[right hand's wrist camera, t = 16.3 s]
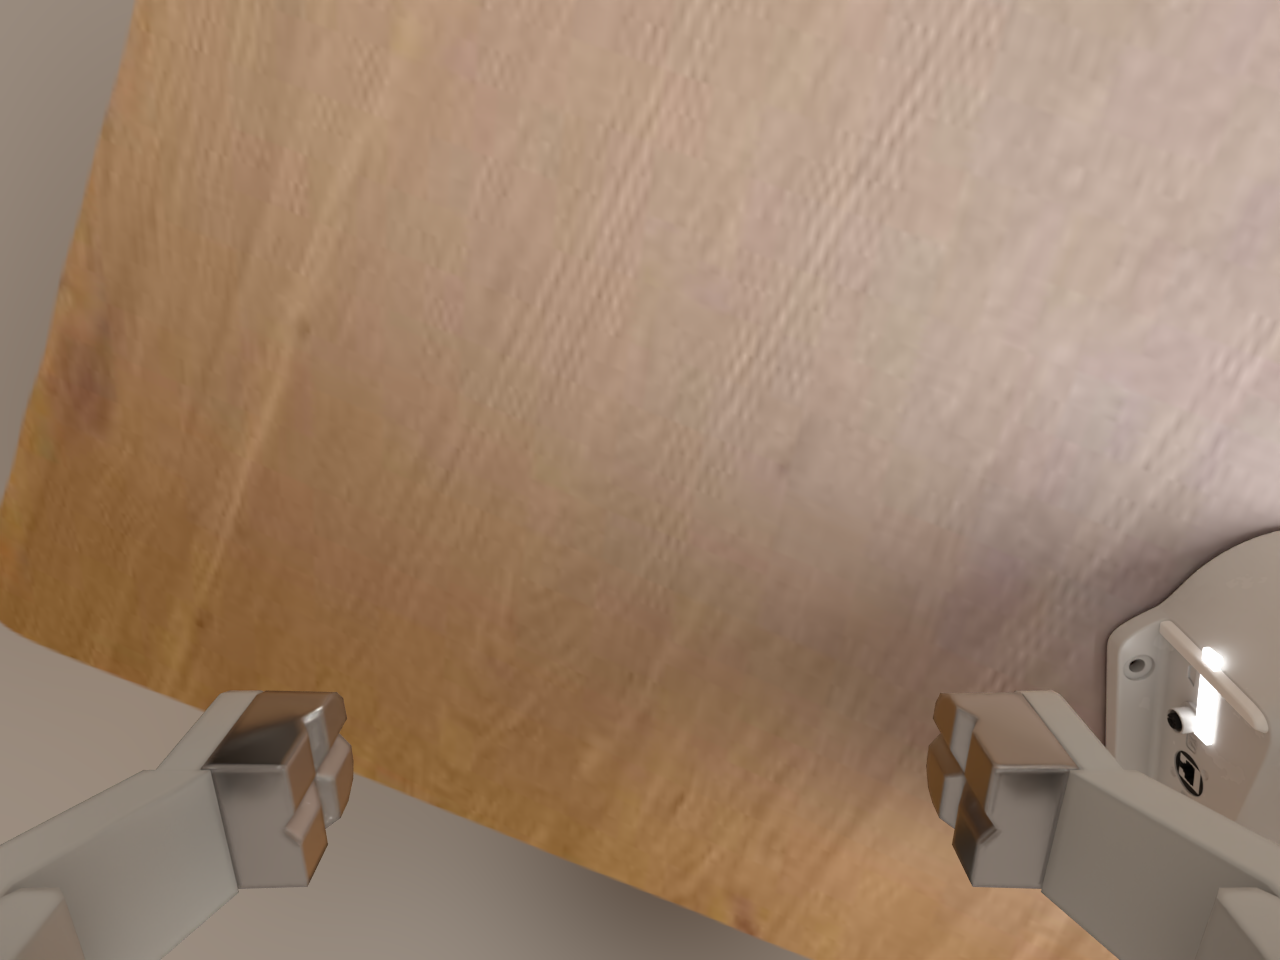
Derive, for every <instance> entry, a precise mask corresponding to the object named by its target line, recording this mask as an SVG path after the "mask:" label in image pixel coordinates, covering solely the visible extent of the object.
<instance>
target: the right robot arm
mask: <svg viewBox="0 0 1280 960" xmlns="http://www.w3.org/2000/svg"><path fill="white" fill-rule="evenodd" d="M1136 659H1137V660H1136ZM1134 660H1136V661H1135V662H1134V663H1133V664H1131V665H1130V663H1131V662H1132V661H1134ZM346 719H347V716H346V711H345V706H344V701H343V697H341V696H340V695H339V694H338V693H337V692H307V691H227V692H224V693H221V694H220V695H219V696H218V697H217V698H216V699H215V700H214V701H213V703H212V704H211V705H210V706H209V707H208V709H207V710H206V711H205V712H204V713H203V714H202V716H201V717H200V718H199V719H198V720H197V722H196V723H195V724H194V725H193V726H192V727H191V729H190V730H189V731H188V732H187V733H186V735H185V736H184V737H183V738H182V739H181V740H180V742H179V743H178V744H177V745H176V746H175V748H174V749H173V750H172V751H171V752H170V754H169V755H168V756H167V757H166V758H165V759H164V761H163V762H162V763H161V764H160V765H159V767H158V768H157V769H156V770H143V771H141V772H139V773H137V774H135V775H133V776H131V777H129V778H127V779H126V780H124V781H122V782H120V783H118V784H116V785H114V786H112V787H110V788H108V789H106V790H104V791H103V792H101V793H99V794H97V795H95V796H93V797H91V798H89V799H87V800H85V801H83V802H82V803H80V804H78V805H76V806H74V807H72V808H70V809H68V810H66V811H64V812H62V813H61V814H59V815H57V816H55V817H53V818H51V819H49V820H47V821H45V822H43V823H41V824H39V825H38V826H36V827H34V828H32V829H30V830H28V831H26V832H24V833H22V834H20V835H18V836H16V837H15V838H13V839H11V840H9V841H7V842H5V843H3V844H1V845H0V960H161V959H162V958H163V957H164V956H166V955H167V954H168V953H169V952H170V951H171V950H172V949H174V948H175V947H176V946H177V945H178V944H180V943H181V942H182V941H183V940H184V939H185V938H186V937H188V936H189V935H190V934H191V933H192V932H193V931H195V930H196V929H197V928H198V927H199V926H200V925H202V924H203V923H204V922H205V921H206V920H207V919H208V918H210V917H211V916H212V915H213V914H214V913H215V912H217V911H218V910H219V909H220V908H221V907H222V906H224V905H225V904H226V903H227V902H228V901H229V900H231V899H232V898H233V897H234V896H235V895H236V894H237V893H238V892H239V891H238V889H245V888H279V887H307V886H308V884H309V882H310V880H311V878H312V876H313V874H314V872H315V870H316V868H317V866H318V864H319V862H320V860H321V858H322V856H323V854H324V851H325V849H326V847H327V845H328V843H327V836H326V830H325V829H326V828H327V827H329V826H330V825H331V824H333V823H334V822H336V821H337V820H338V819H340V818H341V816H342V814H343V811H344V809H345V807H346V805H347V803H348V800H349V795H350V791H351V786H352V782H353V754H352V747H351V745H350V744H349V743H348V742H347V741H346V740H345V739H344V738H343V737H342V736H341V735H340V734H339V732H340V730H341V729H342V727H343V725H344V723H345V721H346ZM933 719H934V721H935V723H936V725H937V727H938V729H939V730H940V732H941V734H940V735H939V736H938V737H937V738H936V739H935V740H934V741H933V742H932V743H931V744H930V745H929V748H928V756H927V765H926V769H927V780H928V789H929V792H930V796H931V799H932V803H933V805H934V807H935V809H936V812H937V814H938V816H939V818H940V819H942V820H943V821H944V822H946V823H947V824H949V825H950V826H951V827H953V828H954V829H955V830H954V836H953V842H952V845H953V847H954V849H955V851H956V854H957V856H958V858H959V860H960V862H961V864H962V866H963V868H964V870H965V872H966V874H967V876H968V878H969V880H970V882H971V884H972V886H973V887H998V888H1034V889H1042V890H1041V892H1042V893H1043V894H1044V895H1045V896H1046V897H1048V898H1049V899H1050V900H1051V901H1052V902H1053V903H1054V904H1056V905H1057V906H1058V907H1059V908H1060V909H1061V910H1063V911H1064V912H1065V913H1066V914H1067V915H1068V916H1069V917H1071V918H1072V919H1073V920H1074V921H1075V922H1076V923H1078V924H1079V925H1080V926H1081V927H1082V928H1083V929H1085V930H1086V931H1087V932H1088V933H1089V934H1090V935H1091V936H1093V937H1094V938H1095V939H1096V940H1097V941H1098V942H1100V943H1101V944H1102V945H1103V946H1104V947H1105V948H1107V949H1108V950H1109V951H1110V952H1111V953H1112V954H1113V955H1115V956H1116V957H1117V958H1118V959H1119V960H1280V531H1275V532H1271V533H1268V534H1264V535H1261V536H1258V537H1255V538H1253V539H1250V540H1248V541H1245V542H1243V543H1241V544H1239V545H1236V546H1234V547H1232V548H1230V549H1229V550H1227V551H1225V552H1223V553H1221V554H1220V555H1218V556H1217V557H1215V558H1213V559H1212V560H1211V561H1209V562H1208V563H1206V564H1205V565H1204V566H1202V567H1201V568H1200V569H1198V570H1197V571H1196V572H1195V573H1194V574H1192V575H1191V576H1190V577H1189V578H1188V579H1187V580H1186V581H1185V582H1184V583H1183V584H1182V585H1181V586H1180V587H1179V588H1178V589H1177V590H1176V591H1175V592H1174V593H1173V594H1172V595H1170V596H1169V597H1168V598H1167V599H1166V600H1165V601H1163V602H1162V603H1161V604H1159V605H1158V606H1156V607H1154V608H1152V609H1150V610H1148V611H1146V612H1144V613H1142V614H1140V615H1138V616H1136V617H1134V618H1132V619H1130V620H1128V621H1127V622H1125V623H1123V624H1122V625H1120V626H1119V627H1118V628H1116V629H1115V630H1114V631H1113V632H1112V634H1111V635H1110V637H1109V639H1108V642H1107V675H1106V746H1104V745H1103V744H1102V743H1101V742H1100V741H1099V739H1098V738H1097V737H1096V736H1095V735H1094V733H1093V732H1092V731H1091V730H1090V729H1089V728H1088V726H1087V725H1086V724H1085V723H1084V722H1083V720H1082V719H1081V718H1080V717H1079V716H1078V715H1077V713H1076V712H1075V711H1074V710H1073V709H1072V707H1071V706H1070V705H1069V704H1068V703H1067V702H1066V700H1065V699H1064V698H1063V697H1062V696H1061V695H1060V694H1059V693H1057V692H1055V691H1053V690H1036V691H1014V692H985V693H940V695H939V697H938V699H937V701H936V704H935V710H934V715H933Z"/></svg>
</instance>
